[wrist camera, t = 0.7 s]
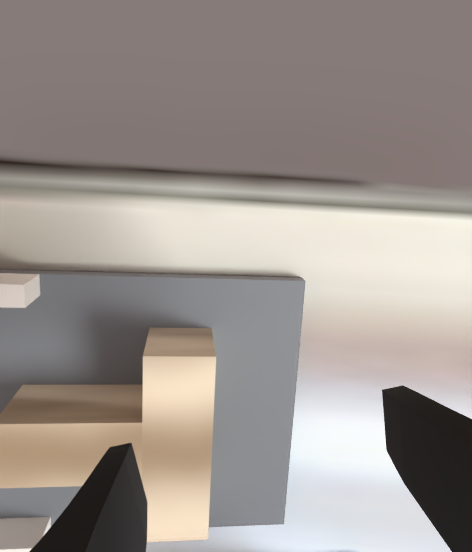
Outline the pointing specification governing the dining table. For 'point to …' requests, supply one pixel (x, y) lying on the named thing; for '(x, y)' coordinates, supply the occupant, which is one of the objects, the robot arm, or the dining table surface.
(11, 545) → the dock
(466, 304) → the dining table surface
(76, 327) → the board
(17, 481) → the t block
